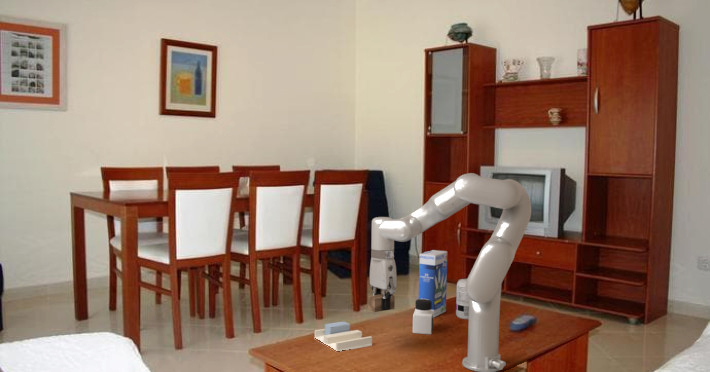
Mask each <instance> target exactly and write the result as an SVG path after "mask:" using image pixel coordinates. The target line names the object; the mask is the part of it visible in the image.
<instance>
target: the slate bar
mask: <svg viewBox="0 0 710 372" xmlns="http://www.w3.org/2000/svg"><path fill="white" fill-rule="evenodd" d="M350 327H351V324H350V323H349V322H346V321H337V322H330V323H324V329H325V335H329V334H335V333H341V332H347V331H351V330H350V329H351V328H350Z"/></svg>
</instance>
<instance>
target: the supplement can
mask: <svg viewBox="0 0 710 372" xmlns="http://www.w3.org/2000/svg"><path fill="white" fill-rule="evenodd" d="M466 281H467V278H461V279H458V281H457V283H456V296H455V297H456V299H455V300H456V302H455V304H456V307H455V315H456V316H457V318H459V319H461V320H462V319H463V320H469V300H470V298H469V297H468V295H467V293H466V289H465V284H466Z"/></svg>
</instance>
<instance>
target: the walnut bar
mask: <svg viewBox="0 0 710 372" xmlns="http://www.w3.org/2000/svg"><path fill="white" fill-rule="evenodd" d="M395 297H396V296H395V295H394V294H393V295H392V298H390V310H395V309H396V308H395V307H396V306H395V300H396V299H395ZM382 299H383V293H381V294H380V295H373V294H372V295H367V310H368V311H371V312H373V313H379V312H383V311H382ZM390 310H389V311H390Z"/></svg>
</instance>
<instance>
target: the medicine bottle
mask: <svg viewBox="0 0 710 372" xmlns="http://www.w3.org/2000/svg"><path fill="white" fill-rule="evenodd" d="M414 308H415V309H414V312H413V315H412V333H413V334H422V335H432V334H433V331H434V318H433V311H431V310H432V302H431V301H430V300H428V299H419V298H418V299H416V300H415V307H414Z"/></svg>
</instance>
